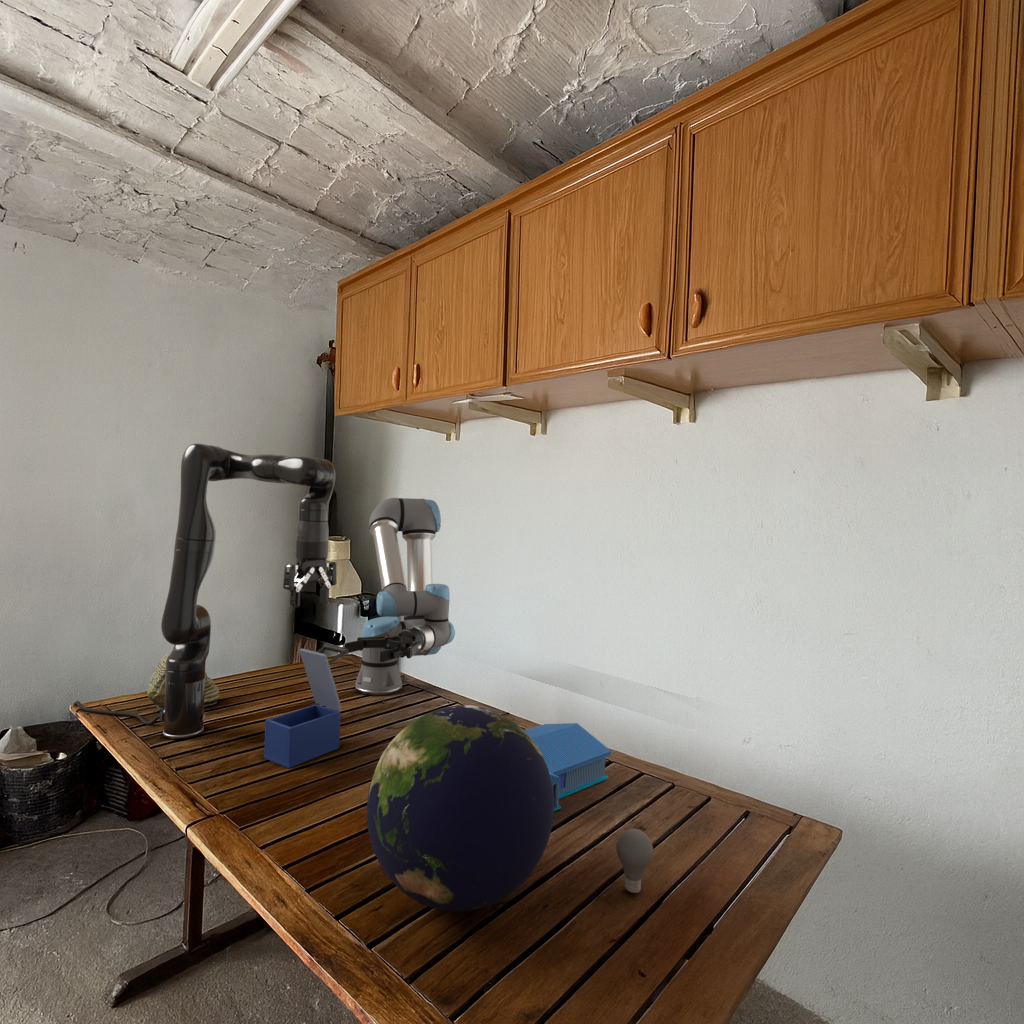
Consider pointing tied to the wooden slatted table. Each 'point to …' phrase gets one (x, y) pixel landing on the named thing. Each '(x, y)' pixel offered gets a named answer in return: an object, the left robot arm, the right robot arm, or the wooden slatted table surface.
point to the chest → (301, 735)
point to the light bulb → (634, 857)
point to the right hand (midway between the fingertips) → (362, 652)
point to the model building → (570, 757)
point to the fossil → (158, 687)
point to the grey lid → (322, 675)
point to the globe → (460, 808)
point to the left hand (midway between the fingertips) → (309, 605)
